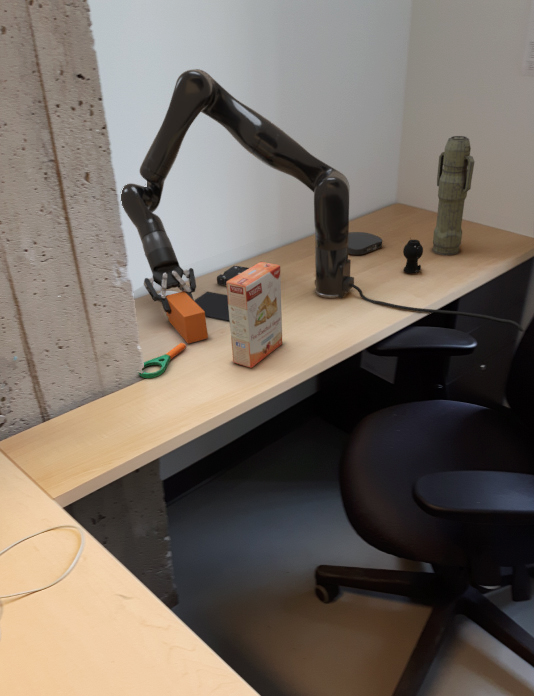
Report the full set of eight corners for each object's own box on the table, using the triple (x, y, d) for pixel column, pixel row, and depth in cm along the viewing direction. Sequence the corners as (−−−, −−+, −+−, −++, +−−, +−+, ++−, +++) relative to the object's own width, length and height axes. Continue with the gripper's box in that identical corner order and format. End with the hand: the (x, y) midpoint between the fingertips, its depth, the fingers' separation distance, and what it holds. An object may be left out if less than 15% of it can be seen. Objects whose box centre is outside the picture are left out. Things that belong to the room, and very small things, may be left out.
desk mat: (266, 303, 168) (266, 302, 168) (241, 324, 158) (241, 322, 158) (207, 292, 176) (207, 291, 176) (180, 311, 166) (180, 310, 166)
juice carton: (166, 318, 163) (161, 292, 159) (185, 313, 165) (181, 288, 161) (188, 343, 150) (183, 317, 146) (208, 338, 152) (204, 311, 148)
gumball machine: (425, 274, 181) (428, 243, 175) (407, 277, 180) (409, 245, 174) (416, 267, 186) (418, 235, 181) (398, 269, 185) (400, 238, 180)
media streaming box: (356, 236, 212) (356, 228, 210) (386, 246, 203) (387, 237, 201) (326, 247, 204) (326, 238, 203) (357, 257, 195) (357, 249, 193)
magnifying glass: (152, 380, 136) (151, 374, 135) (133, 374, 139) (131, 368, 138) (193, 351, 147) (192, 345, 146) (174, 346, 150) (173, 340, 149)
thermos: (455, 258, 191) (469, 142, 172) (423, 250, 198) (433, 138, 178) (468, 250, 196) (484, 136, 177) (437, 243, 203) (449, 133, 184)
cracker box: (253, 369, 139) (246, 285, 127) (232, 363, 141) (223, 281, 130) (284, 344, 148) (281, 264, 137) (264, 338, 151) (259, 259, 139)
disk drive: (217, 285, 181) (259, 292, 175) (215, 277, 179) (258, 283, 173) (234, 273, 188) (275, 279, 182) (233, 265, 187) (275, 270, 181)
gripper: (134, 251, 153) (156, 311, 151) (187, 240, 158) (208, 297, 156) (132, 264, 160) (153, 321, 158) (183, 254, 165) (203, 308, 163)
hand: (181, 309), depth 157 cm, fingers closed on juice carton, 5 cm apart
